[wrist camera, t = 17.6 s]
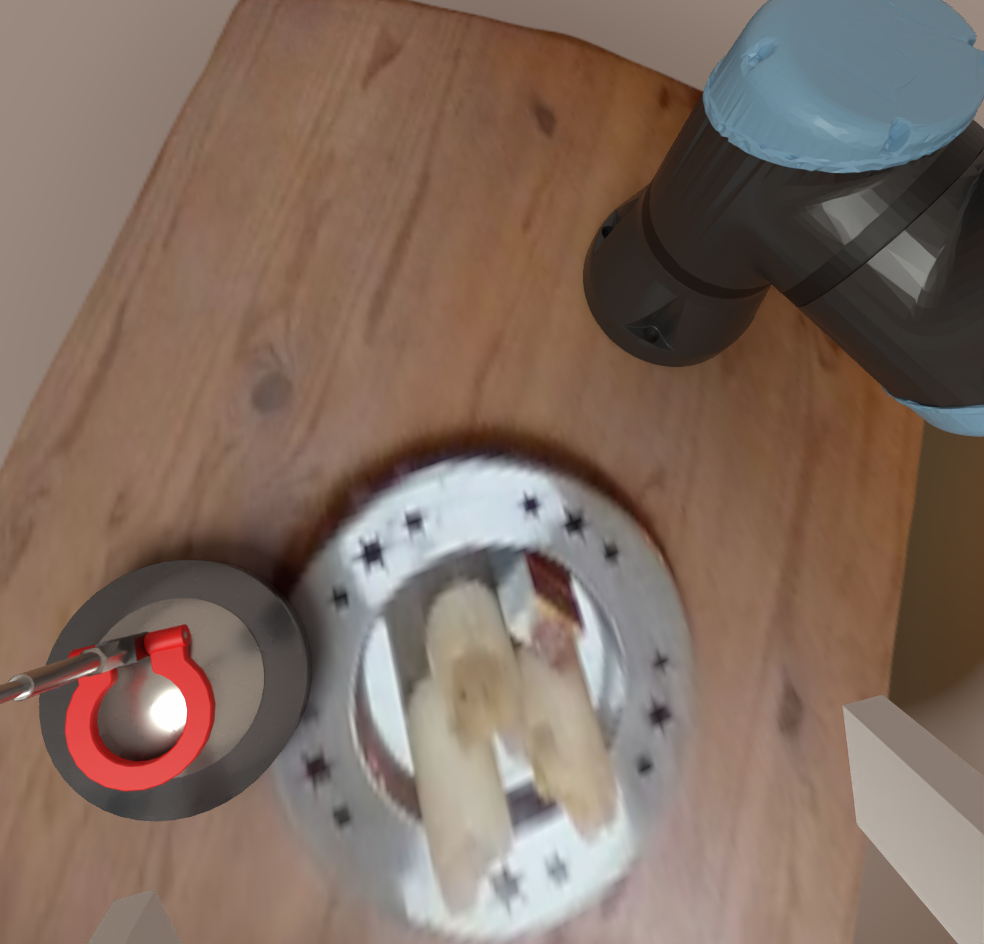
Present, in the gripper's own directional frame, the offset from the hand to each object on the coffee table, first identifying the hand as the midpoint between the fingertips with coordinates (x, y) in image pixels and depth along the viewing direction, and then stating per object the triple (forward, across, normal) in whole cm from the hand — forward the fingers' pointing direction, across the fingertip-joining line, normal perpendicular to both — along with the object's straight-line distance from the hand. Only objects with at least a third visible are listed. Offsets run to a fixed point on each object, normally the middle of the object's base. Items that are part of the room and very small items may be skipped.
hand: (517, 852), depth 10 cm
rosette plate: (+27, -22, -8) cm, 36 cm away
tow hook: (+24, -24, -8) cm, 34 cm away
